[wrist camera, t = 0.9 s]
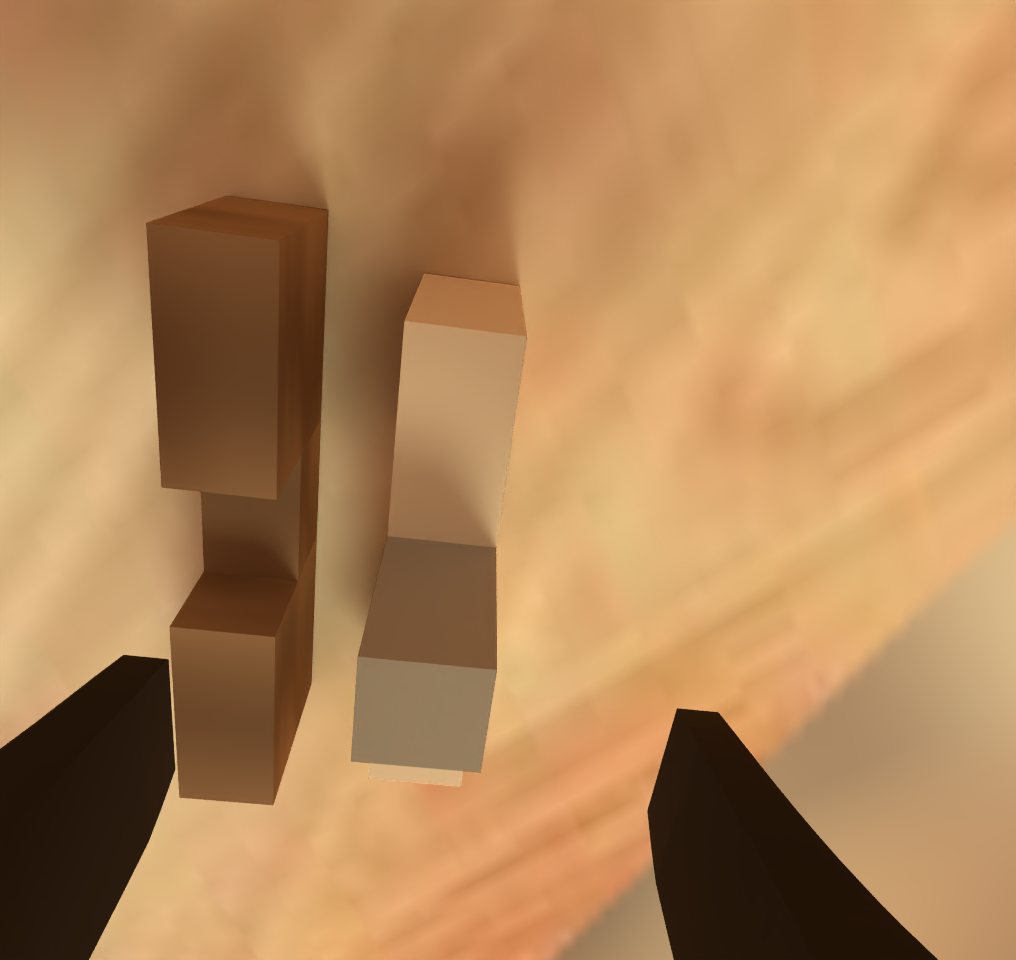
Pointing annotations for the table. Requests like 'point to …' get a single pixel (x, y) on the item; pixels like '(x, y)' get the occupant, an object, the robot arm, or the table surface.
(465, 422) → the burr puzzle piece
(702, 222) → the table surface
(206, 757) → the walnut slotted plate
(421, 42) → the table surface
